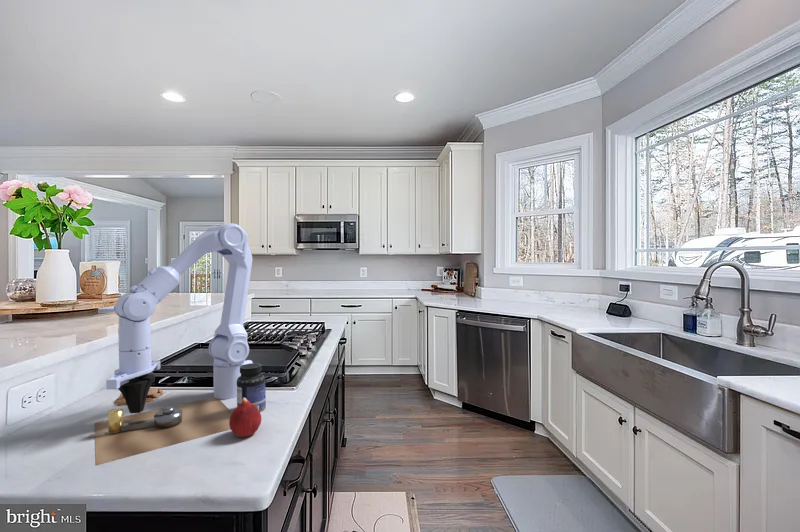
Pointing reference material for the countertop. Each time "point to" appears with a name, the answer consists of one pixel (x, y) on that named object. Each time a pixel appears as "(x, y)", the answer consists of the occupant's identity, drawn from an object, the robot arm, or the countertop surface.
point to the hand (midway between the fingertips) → (136, 411)
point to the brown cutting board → (161, 430)
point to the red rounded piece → (245, 419)
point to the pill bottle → (252, 385)
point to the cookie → (150, 397)
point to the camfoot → (160, 420)
